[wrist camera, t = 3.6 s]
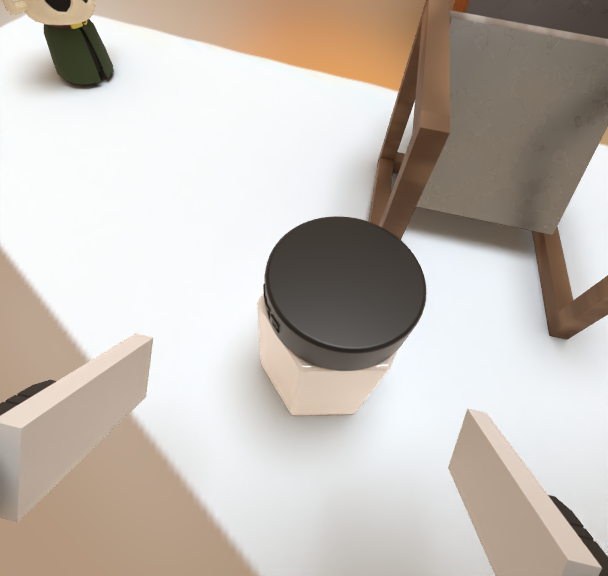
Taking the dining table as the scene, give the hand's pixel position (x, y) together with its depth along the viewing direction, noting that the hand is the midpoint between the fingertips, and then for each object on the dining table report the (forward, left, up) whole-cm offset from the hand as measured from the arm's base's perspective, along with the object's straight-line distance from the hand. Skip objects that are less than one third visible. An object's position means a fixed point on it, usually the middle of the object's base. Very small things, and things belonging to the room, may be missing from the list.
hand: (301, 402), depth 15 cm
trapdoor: (-12, -34, -4) cm, 36 cm away
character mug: (+34, -36, -12) cm, 51 cm away
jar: (-1, -6, -12) cm, 14 cm away
